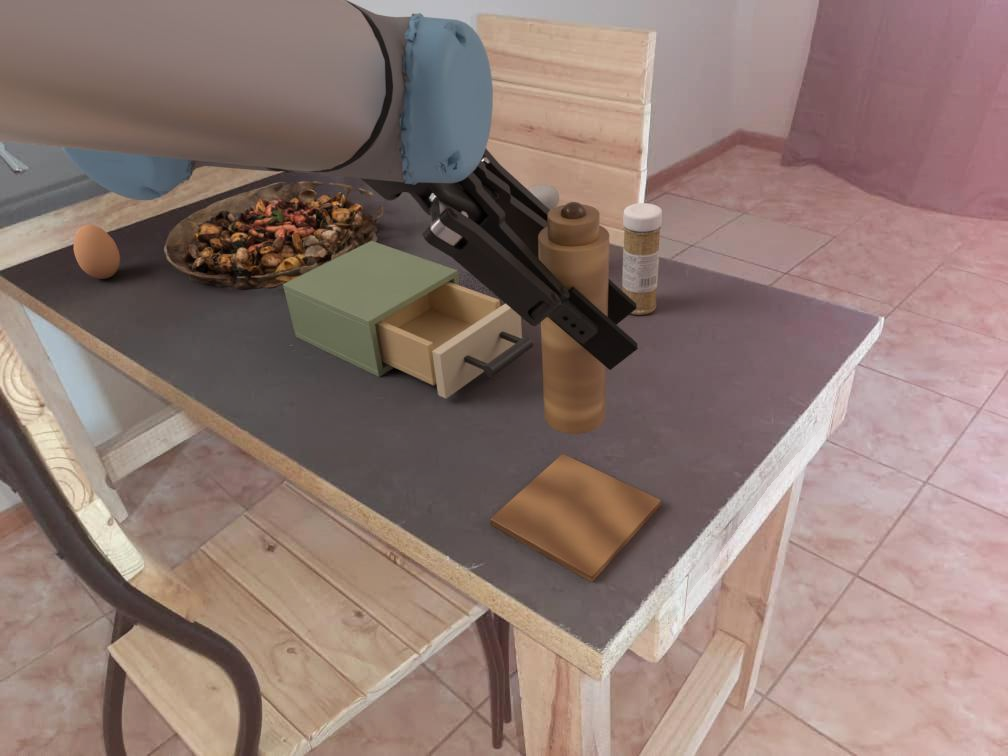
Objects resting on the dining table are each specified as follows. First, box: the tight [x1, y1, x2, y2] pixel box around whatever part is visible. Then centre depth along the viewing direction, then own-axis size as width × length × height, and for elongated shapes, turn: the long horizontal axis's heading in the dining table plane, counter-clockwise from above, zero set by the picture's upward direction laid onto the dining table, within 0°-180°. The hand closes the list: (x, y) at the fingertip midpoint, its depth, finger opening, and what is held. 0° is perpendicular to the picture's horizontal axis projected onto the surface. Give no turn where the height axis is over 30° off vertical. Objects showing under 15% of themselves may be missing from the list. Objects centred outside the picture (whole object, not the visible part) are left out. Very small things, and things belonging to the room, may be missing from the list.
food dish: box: [163, 180, 384, 290], centre depth 120 cm, size 35×33×8 cm
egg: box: [73, 224, 121, 280], centre depth 114 cm, size 6×6×8 cm
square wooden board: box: [489, 453, 662, 583], centre depth 70 cm, size 11×11×1 cm
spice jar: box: [621, 202, 663, 316], centre depth 96 cm, size 5×5×14 cm
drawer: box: [375, 282, 534, 400], centre depth 90 cm, size 19×13×6 cm
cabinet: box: [282, 241, 460, 378], centre depth 97 cm, size 16×15×8 cm
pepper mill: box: [538, 201, 610, 435], centre depth 58 cm, size 5×5×18 cm
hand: (623, 335), depth 59 cm, fingers closed on pepper mill, 5 cm apart
